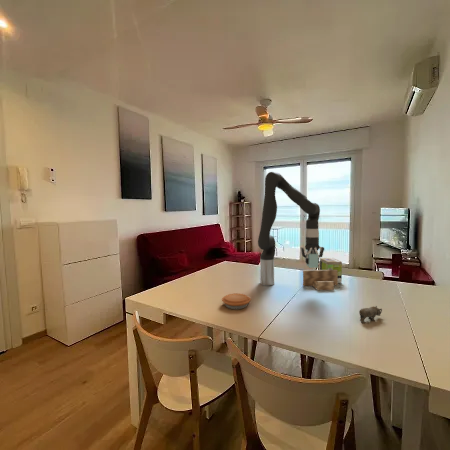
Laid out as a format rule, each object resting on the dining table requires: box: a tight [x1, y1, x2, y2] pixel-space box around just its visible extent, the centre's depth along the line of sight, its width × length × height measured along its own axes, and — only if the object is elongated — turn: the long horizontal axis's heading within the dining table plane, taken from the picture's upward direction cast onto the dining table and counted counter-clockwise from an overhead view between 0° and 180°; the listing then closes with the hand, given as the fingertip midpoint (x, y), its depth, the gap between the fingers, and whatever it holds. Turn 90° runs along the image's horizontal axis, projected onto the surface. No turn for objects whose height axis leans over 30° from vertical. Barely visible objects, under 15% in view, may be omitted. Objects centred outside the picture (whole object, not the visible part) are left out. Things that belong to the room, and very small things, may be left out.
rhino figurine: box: [359, 305, 383, 324], centre depth 114 cm, size 4×14×6 cm, turn 111°
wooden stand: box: [302, 269, 339, 291], centre depth 162 cm, size 22×10×10 cm, turn 88°
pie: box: [221, 292, 252, 310], centre depth 135 cm, size 16×16×5 cm
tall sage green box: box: [305, 250, 319, 269], centre depth 152 cm, size 5×6×10 cm
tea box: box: [319, 257, 343, 284], centre depth 177 cm, size 15×10×15 cm, turn 179°
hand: (312, 263), depth 152 cm, fingers closed on tall sage green box, 5 cm apart
